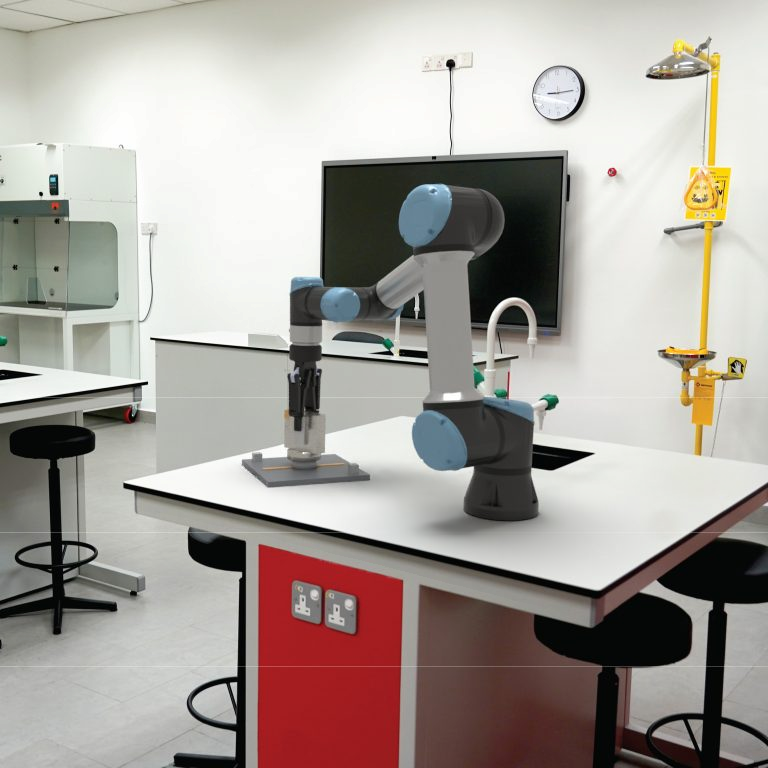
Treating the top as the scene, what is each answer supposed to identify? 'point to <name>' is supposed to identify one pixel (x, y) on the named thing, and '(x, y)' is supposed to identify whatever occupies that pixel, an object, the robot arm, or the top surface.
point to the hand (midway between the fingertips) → (303, 442)
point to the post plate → (303, 470)
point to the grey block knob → (312, 438)
